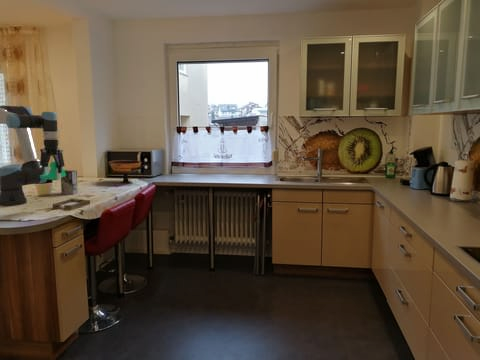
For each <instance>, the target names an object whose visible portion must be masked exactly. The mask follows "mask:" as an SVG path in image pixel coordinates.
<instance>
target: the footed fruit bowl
mask: <svg viewBox="0 0 480 360" xmlns="http://www.w3.org/2000/svg"><path fill="white" fill-rule="evenodd" d="M106 164H107V166H108V167H109V168H110V169H112V170H113V171H114V172H116V173H118V174H123V179H122V181H119V184H121V185H123V184H124V185H125V184H127V183H128V184H132V183H133V181H130V180H129V177H128V176H129V175H128V174H132V173H134V172H136V171H140V170H142V169H143V168H145V164H142V161H140V160H133V159H132V160H130V159H119V160H116V159H115V160H110V161H107V162H106Z"/></svg>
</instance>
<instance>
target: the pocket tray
mask: <svg viewBox="0 0 480 360" xmlns="http://www.w3.org/2000/svg"><path fill="white" fill-rule="evenodd" d="M90 204H91V200H90V199H81V198H80V199H79V198H70V199H66V200H62V201H59V202H56V203H52V209H56V208H57V210H58V209H59V210H66V209H67V211H74V210H76V209H80V208H82V207H85V206H88V205H90Z"/></svg>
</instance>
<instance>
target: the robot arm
mask: <svg viewBox="0 0 480 360" xmlns="http://www.w3.org/2000/svg"><path fill="white" fill-rule="evenodd" d="M57 116H58V115H57V113H56V112H55V111H42V112H41V114H39V115H35V114H34V112H33V110H32V109H31V108H30V107H28V106H22V105H20V106H19V105H0V124H2V125H6V127H7V128H9V129H13V130H15V133H16V137H17V142H18V144H19V149H20V152H21V156H22V161H23V163H22V164H18V163H16V164H8V165H4V166H1V167H0V206H2V207H3V206H5V207H6V206H7V207H8V206H18V205H23V204H26V203H27V201H28V200H27V197H26V196H25V193H24V190H23V189H24V188H23V186H26V185H27V186H28V185H39V184H44V183H46V182H47V180H48V179H44V178H40V175H46V174H49V171H50V166H49V164H50V159H51V157H53V159H54V162H56V165H57V167H56V175H57V179H58V180H61V173H62V168H63V167H65V160H64V155H63V151H64V150H63V149H62V148H60V149H59V147H58V146H59V140H58V138H59V134H58V133H59V131H58V117H57ZM32 129H42V136H43V146H44V148H40V149H39V150H40V158H39V156H38V155H39V154H38V151H37V148H36V144H35V140H34V137H33V136H34V135H33V133H32Z"/></svg>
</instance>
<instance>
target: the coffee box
mask: <svg viewBox="0 0 480 360" xmlns="http://www.w3.org/2000/svg"><path fill="white" fill-rule="evenodd" d="M63 170H64V171H65V173H66V176H65V177H61V179H60V187H61V188H60V190H61V194H62V195H75V194H78V193H79V191H78V190H79V188H78V171H77V170H72V169H71V170H70V169H69V170H67V169H63Z"/></svg>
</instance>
